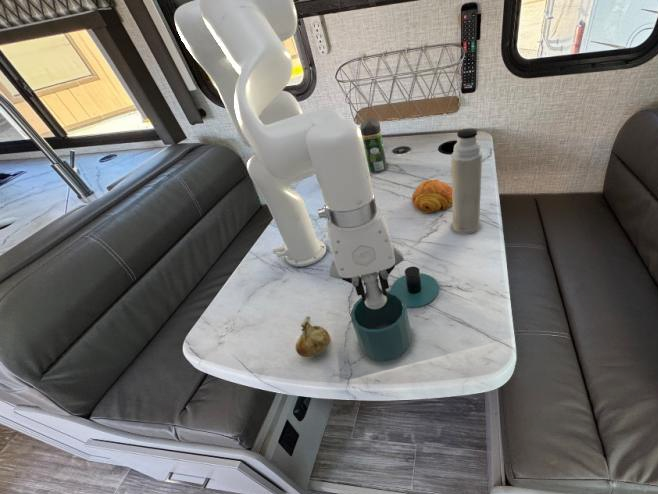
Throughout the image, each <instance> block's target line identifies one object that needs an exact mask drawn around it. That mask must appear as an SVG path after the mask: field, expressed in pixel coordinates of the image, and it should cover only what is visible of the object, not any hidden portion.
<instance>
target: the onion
mask: <svg viewBox="0 0 658 494" xmlns="http://www.w3.org/2000/svg"><path fill="white" fill-rule="evenodd" d="M311 320H312V319H311V316H308V315H306V316H305V317H304V320H303V322H302V323H301V324H300V327H301V329H300V331H302V332H301V335H300V336H299V337H298V338H297V340H296V343H295V352H296V353H297V354H298V356H300V357H302V358H316V357H318V356H320V355H321V354H322V353H324V352H325V351H326V350H327V348H328V347H329V346H330V343H331V336H330V334H329V331H327V330H326V329H325V328H323V327H321V326H320V325H314V326H313V325H312V324H311Z"/></svg>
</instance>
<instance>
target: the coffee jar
mask: <svg viewBox="0 0 658 494" xmlns="http://www.w3.org/2000/svg"><path fill="white" fill-rule="evenodd" d="M359 128H360V131H361V134H362V138H363V143H364V148H365V153H366V158H367V163H368V168H369V173H380V172H383V171H385V170H386V169H387V160H386V153H385V147H384V142H383V136H382V130H381V124H380V121H378V120H377V119H376V118H369V119H364V121H363V122H362V123H360V127H359Z"/></svg>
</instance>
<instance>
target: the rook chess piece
mask: <svg viewBox="0 0 658 494" xmlns="http://www.w3.org/2000/svg"><path fill="white" fill-rule="evenodd" d="M360 277H361V280H362V282H363V286H365V296H366V300H365V305H366V306H367V307H368V308H370V309H379V308H381V307H383V306H384V305H385V303H386V301H387V297H386V296H385V295H383V292H382V288H380V287H381V286H380V285H379V275H378V271H377V272H373V273H369V274H365V275H360Z"/></svg>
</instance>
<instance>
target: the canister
mask: <svg viewBox="0 0 658 494" xmlns="http://www.w3.org/2000/svg"><path fill="white" fill-rule="evenodd" d="M386 292H387V295H386V297H387V301H386V303H385V305H384V306H383V307H381V308H379V309H370V308H368V307H367V306H366V305H365V301H363V300H362V297H359V299H358V300H357V301H356V302H355V303H354V304H353V306H352V308H351V311H350V320H351V323H352V326H353V329H354V332H355V335H356V337H357V340H358V343H359V346H360V349H361V351H362V352H363V354H364V355H365V356H366V357H367V358H369V359H370V360H373V361H376V362H383V363H384V362H390V361H394V360H397V359H399V358H400V357H401V356H403V355H405V353H406V352H407V351H408V350H409V348H410V347H411V343H412V332H411V327H410V320H409V314H408V308H407V307H406V304H405V301H404V300H403V299H402V298H401V297H400V296H399V295H398V294H396V293H393V292H391V290H386ZM384 324H390V325H388V326H386V327H383V328H379V329H378V328H377V329H376V327H377V326H380V325H384Z"/></svg>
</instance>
